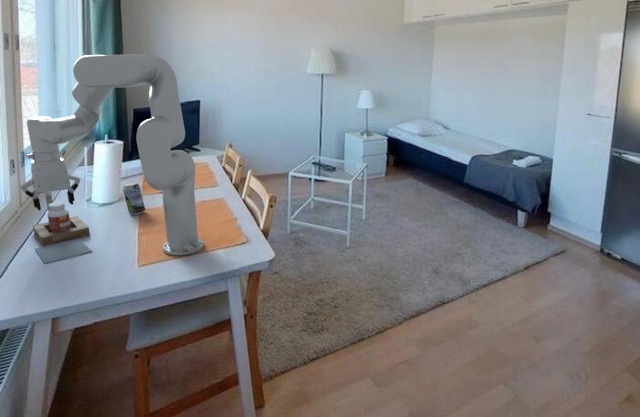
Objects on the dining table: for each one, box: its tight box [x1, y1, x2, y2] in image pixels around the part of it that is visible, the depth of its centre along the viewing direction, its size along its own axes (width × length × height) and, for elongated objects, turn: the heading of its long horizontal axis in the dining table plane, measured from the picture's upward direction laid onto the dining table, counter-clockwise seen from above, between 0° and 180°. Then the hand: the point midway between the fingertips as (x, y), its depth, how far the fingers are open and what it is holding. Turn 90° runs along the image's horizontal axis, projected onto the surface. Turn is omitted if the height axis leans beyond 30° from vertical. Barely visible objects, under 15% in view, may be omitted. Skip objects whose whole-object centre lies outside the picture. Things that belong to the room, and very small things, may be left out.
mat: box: [34, 238, 92, 265], centre depth 142 cm, size 13×13×1 cm
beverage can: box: [122, 182, 146, 216], centre depth 173 cm, size 6×7×12 cm
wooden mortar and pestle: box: [32, 192, 91, 247], centre depth 154 cm, size 19×14×16 cm
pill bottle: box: [47, 201, 71, 233], centre depth 153 cm, size 6×6×11 cm
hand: (55, 206), depth 151 cm, fingers open, 9 cm apart
